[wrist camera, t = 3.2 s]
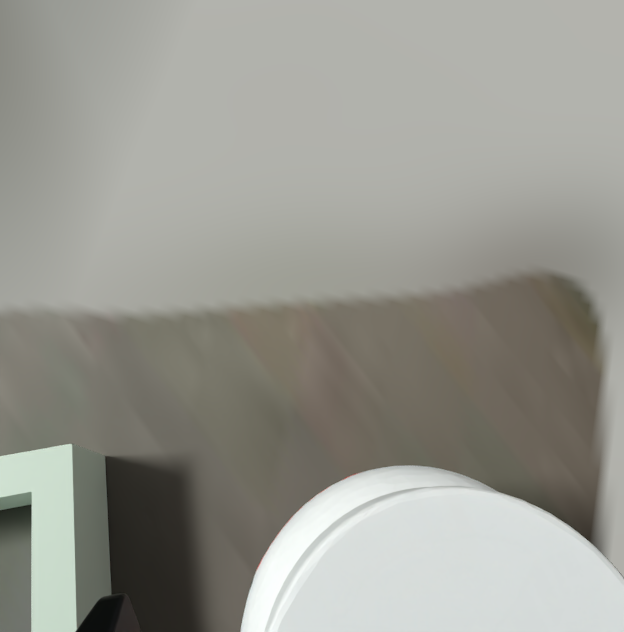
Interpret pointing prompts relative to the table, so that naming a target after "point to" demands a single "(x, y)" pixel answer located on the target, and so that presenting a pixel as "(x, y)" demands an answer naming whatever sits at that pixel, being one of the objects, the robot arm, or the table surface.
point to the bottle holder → (62, 530)
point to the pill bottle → (430, 563)
